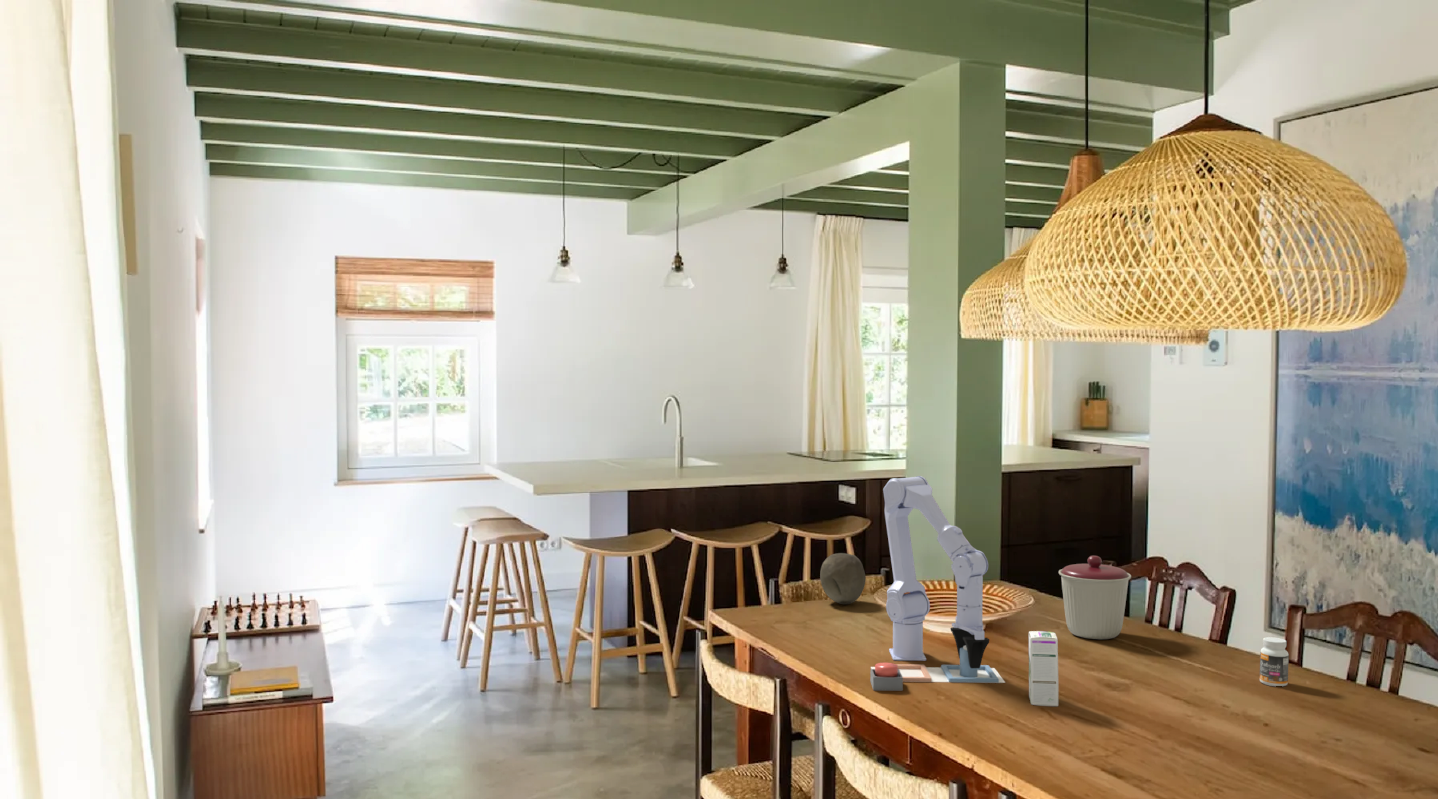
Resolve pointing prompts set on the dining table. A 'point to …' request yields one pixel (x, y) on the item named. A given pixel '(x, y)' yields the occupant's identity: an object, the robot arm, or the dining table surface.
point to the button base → (886, 682)
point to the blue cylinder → (966, 664)
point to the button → (886, 670)
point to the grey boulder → (842, 578)
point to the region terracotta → (915, 679)
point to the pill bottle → (1274, 662)
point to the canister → (1094, 598)
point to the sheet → (939, 675)
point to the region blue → (969, 679)
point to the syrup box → (1043, 668)
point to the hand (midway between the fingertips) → (969, 663)
